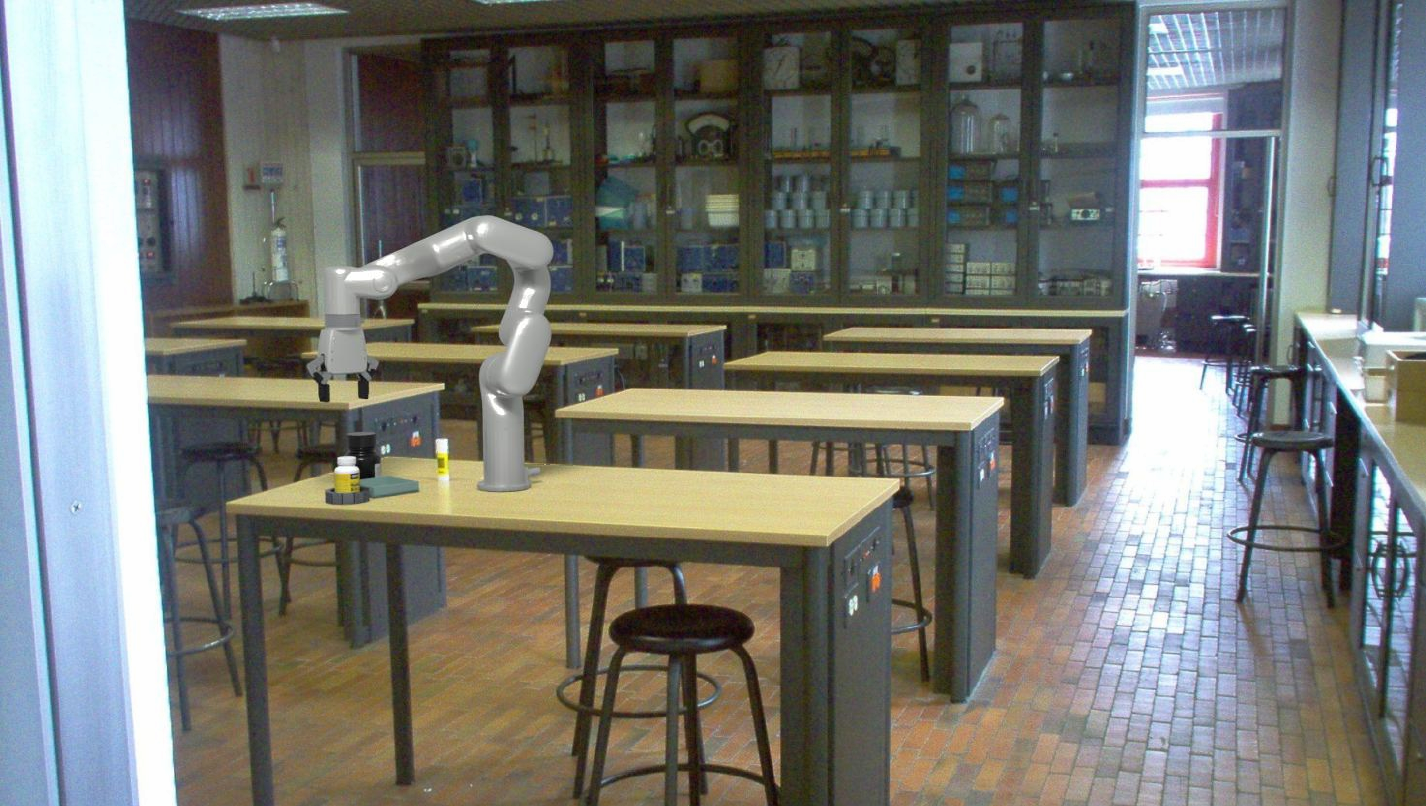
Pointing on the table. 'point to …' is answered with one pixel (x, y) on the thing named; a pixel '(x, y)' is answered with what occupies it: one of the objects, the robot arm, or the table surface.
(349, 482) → the supplement bottle
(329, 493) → the collar
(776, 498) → the table surface
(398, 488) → the tray
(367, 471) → the ink bottle
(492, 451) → the robot arm
